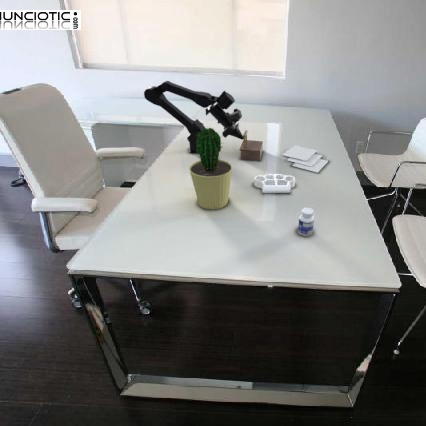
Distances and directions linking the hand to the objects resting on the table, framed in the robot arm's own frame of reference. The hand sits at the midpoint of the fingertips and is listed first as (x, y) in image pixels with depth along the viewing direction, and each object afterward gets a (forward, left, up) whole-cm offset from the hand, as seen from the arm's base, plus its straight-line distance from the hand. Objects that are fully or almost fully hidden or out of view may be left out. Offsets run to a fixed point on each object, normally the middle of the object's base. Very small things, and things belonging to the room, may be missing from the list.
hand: (243, 138), depth 160 cm
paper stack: (+31, -9, -8) cm, 34 cm away
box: (+4, -1, -8) cm, 10 cm away
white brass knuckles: (+8, -37, -9) cm, 39 cm away
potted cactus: (-19, -46, -9) cm, 50 cm away
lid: (+4, -1, -4) cm, 6 cm away
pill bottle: (+11, -71, -9) cm, 72 cm away
